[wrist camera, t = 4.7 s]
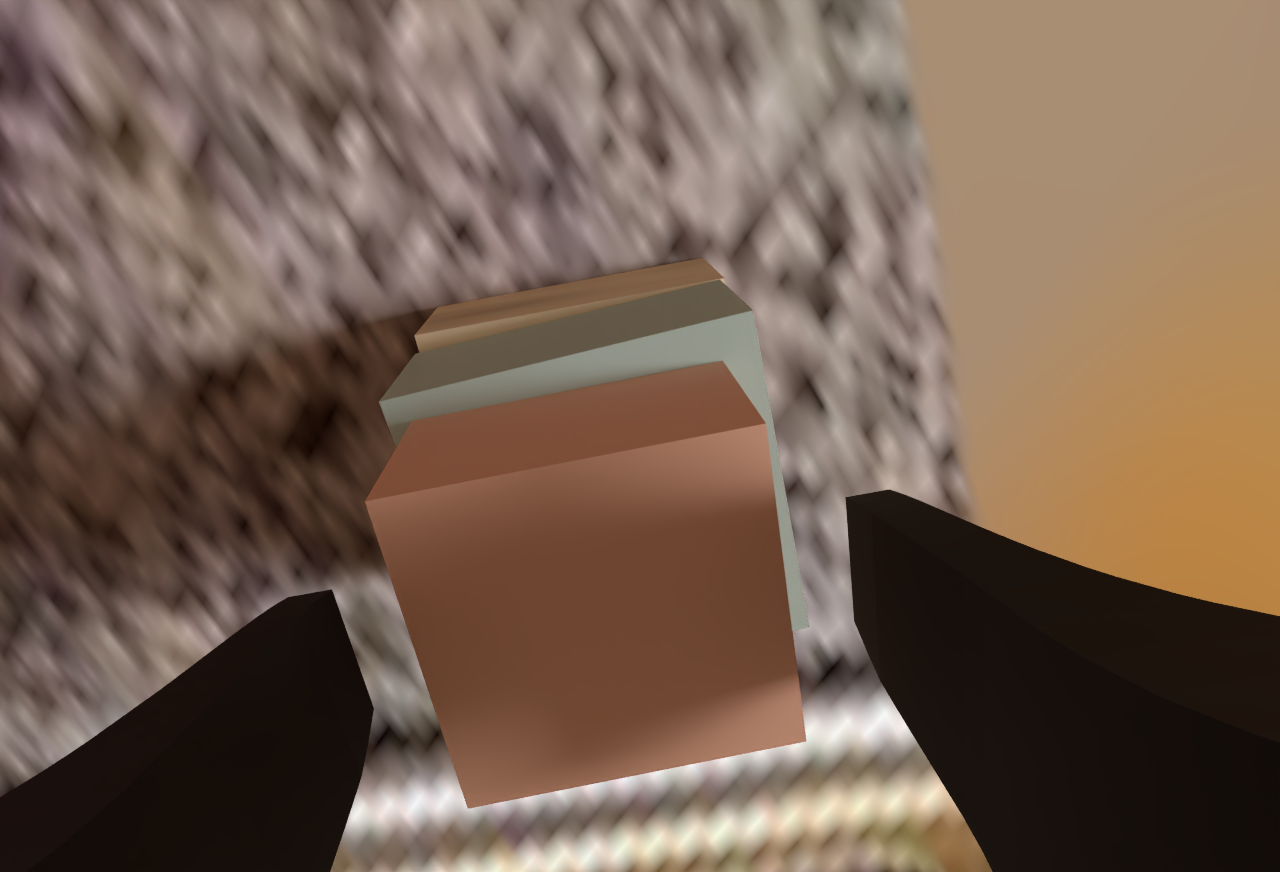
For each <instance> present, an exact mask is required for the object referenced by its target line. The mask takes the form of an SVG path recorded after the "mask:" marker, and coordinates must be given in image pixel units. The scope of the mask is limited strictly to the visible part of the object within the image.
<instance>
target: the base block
mask: <svg viewBox="0 0 1280 872" xmlns="http://www.w3.org/2000/svg"><path fill="white" fill-rule="evenodd" d="M719 279H720V280H721V281H722V282H723V283H724V284H725V280H724V277H723V276H722V275H721V274H719V273H718V272H717V271H716V270H715V269H714V268H713V267H712V266H711V265H710V264H709V263H708V262H707V261H705V260H704V259H703V258H699V259H693V260H688V261H683V262H677V263H672V264H667V265H661V266H656V267H650V268H645V269H640V270H634V271H629V272H623V273H618V274H613V275H607V276H602V277H596V278H591V279H586V280H580V281H575V282H569V283H564V284H559V285H553V286H548V287H542V288H537V289H532V290H526V291H521V292H516V293H510V294H505V295H499V296H494V297H489V298H483V299H478V300H472V301H467V302H462V303H456V304H451V305H445V306H440V307H437V308H436V310H435V311H434V312H433V313H432V315H431V316H430V317H429V318H428V319H427V321H426V322H425V323H424V324H423V326H422V327H421V328H420V329H419V330H418V332H417V333H416V334H415V335H414V336H415V339H416V343H417V346H418V350H419V353H420V352H424V351H428V350H432V349H437V348H441V347H445V346H449V345H453V344H457V343H461V342H465V341H469V340H473V339H478V338H482V337H486V336H490V335H494V334H498V333H502V332H506V331H510V330H514V329H518V328H523V327H527V326H531V325H535V324H539V323H543V322H547V321H551V320H555V319H559V318H564V317H568V316H572V315H576V314H580V313H584V312H588V311H592V310H596V309H600V308H605V307H609V306H613V305H617V304H621V303H625V302H629V301H633V300H637V299H641V298H645V297H650V296H654V295H658V294H662V293H666V292H670V291H674V290H678V289H682V288H686V287H691V286H695V285H699V284H703V283H707V282H711V281H715V280H719Z"/></svg>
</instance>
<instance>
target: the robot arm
mask: <svg viewBox="0 0 1280 872" xmlns="http://www.w3.org/2000/svg"><path fill="white" fill-rule="evenodd" d="M846 509H847V523H848V538H849V552H850V567H851V581H852V595H853V610H854V622H855V624H856V626H857V629H858V631H859V633H860V636H861V638H862V640H863V643H864V645H865V648H866V650H867V652H868V655H869V657H870V659H871V661H872V663H873V666H874V668H875V670H876V672H877V674H878V677H879V679H880V681H881V683H882V684H883V686H884V688H885V690H886V691H887V693H888V695H889V696H890V698H891V700H892V701H893V703H894V705H895V706H896V708H897V710H898V711H899V713H900V715H901V716H902V718H903V720H904V721H905V723H906V725H907V726H908V728H909V729H910V731H911V733H912V734H913V736H914V738H915V739H916V741H917V742H918V744H919V746H920V747H921V749H922V751H923V752H924V754H925V755H926V757H927V759H928V760H929V762H930V764H931V765H932V767H933V768H934V770H935V772H936V773H937V775H938V777H939V778H940V780H941V781H942V783H943V785H944V786H945V788H946V790H947V791H948V793H949V795H950V796H951V798H952V799H953V801H954V803H955V804H956V806H957V808H958V809H959V811H960V812H961V814H962V816H963V817H964V819H965V821H966V823H967V824H968V826H969V828H970V830H971V831H972V833H973V835H974V837H975V839H976V840H977V842H978V844H979V846H980V848H981V849H982V851H983V853H984V855H985V857H986V859H987V861H988V863H989V865H990V867H991V869H992V871H993V872H1280V616H1276V615H1271V614H1266V613H1261V612H1257V611H1252V610H1247V609H1242V608H1237V607H1233V606H1228V605H1223V604H1218V603H1213V602H1209V601H1205V600H1201V599H1196V598H1192V597H1188V596H1184V595H1180V594H1176V593H1172V592H1169V591H1165V590H1162V589H1157V588H1154V587H1151V586H1147V585H1144V584H1140V583H1137V582H1132V581H1129V580H1126V579H1122V578H1118V577H1115V576H1112V575H1109V574H1106V573H1102V572H1099V571H1096V570H1093V569H1090V568H1087V567H1084V566H1081V565H1078V564H1076V563H1073V562H1070V561H1067V560H1064V559H1061V558H1059V557H1056V556H1053V555H1050V554H1047V553H1045V552H1042V551H1039V550H1037V549H1034V548H1031V547H1029V546H1026V545H1024V544H1021V543H1019V542H1016V541H1013V540H1011V539H1009V538H1006V537H1004V536H1001V535H999V534H996V533H994V532H991V531H989V530H987V529H984V528H982V527H979V526H977V525H975V524H972V523H970V522H968V521H965V520H963V519H961V518H958V517H956V516H954V515H952V514H949V513H947V512H945V511H942V510H940V509H938V508H935V507H933V506H931V505H928V504H926V503H924V502H921V501H919V500H916V499H914V498H912V497H909V496H907V495H904V494H901V493H898V492H895V491H892V490H884V491H879V492H873V493H867V494H862V495H856V496H851V497H846ZM373 710H374V708H373V705H372V702H371V699H370V696H369V693H368V690H367V688H366V685H365V682H364V679H363V676H362V673H361V671H360V668H359V665H358V662H357V659H356V656H355V654H354V651H353V648H352V645H351V642H350V639H349V637H348V634H347V631H346V628H345V625H344V622H343V619H342V617H341V614H340V611H339V608H338V605H337V602H336V600H335V597H334V594H333V591H332V590H326V591H321V592H315V593H309V594H304V595H298V596H293V597H288V598H286V599H284V600H283V601H281V602H279V603H277V604H276V605H274V606H273V607H271V608H270V609H268V610H267V611H265V612H264V613H262V614H261V615H259V616H258V617H257V618H255V619H254V620H252V621H251V622H250V623H248V624H247V625H245V626H244V627H243V628H241V629H240V630H239V631H237V632H236V633H235V634H233V635H232V636H231V637H229V638H228V639H227V640H225V641H224V642H223V643H222V644H220V645H219V646H218V647H216V648H215V649H214V650H212V651H211V652H210V653H208V654H207V655H206V656H204V657H203V658H202V659H200V660H199V661H198V662H196V663H195V664H194V665H192V666H191V667H190V668H189V669H187V670H186V671H185V672H183V673H182V674H181V675H179V676H178V677H177V678H175V679H174V680H173V681H171V682H170V683H169V684H167V685H166V686H165V687H163V688H162V689H161V690H159V691H158V692H156V693H155V694H154V695H152V696H151V697H149V698H148V699H147V700H145V701H144V702H142V703H141V704H140V705H138V706H137V707H135V708H134V709H133V710H131V711H130V712H128V713H127V714H126V715H124V716H123V717H121V718H120V719H119V720H117V721H116V722H114V723H113V724H112V725H110V726H109V727H107V728H106V729H105V730H103V731H102V732H100V733H99V734H98V735H96V736H95V737H93V738H92V739H91V740H89V741H88V742H86V743H85V744H83V745H82V746H80V747H79V748H77V749H76V750H74V751H73V752H71V753H70V754H68V755H67V756H65V757H64V758H62V759H61V760H59V761H58V762H56V763H55V764H53V765H52V766H50V767H48V768H47V769H45V770H44V771H42V772H41V773H39V774H38V775H36V776H34V777H33V778H31V779H29V780H28V781H26V782H25V783H23V784H21V785H20V786H18V787H16V788H15V789H13V790H12V791H10V792H8V793H7V794H5V795H3V796H2V797H0V872H330V870H331V867H332V865H333V862H334V859H335V856H336V853H337V850H338V847H339V844H340V841H341V838H342V835H343V832H344V829H345V826H346V823H347V820H348V817H349V814H350V811H351V808H352V805H353V802H354V798H355V795H356V792H357V789H358V786H359V783H360V779H361V776H362V771H363V766H364V761H365V756H366V751H367V747H368V741H369V735H370V729H371V723H372V717H373Z"/></svg>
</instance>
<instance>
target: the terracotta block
mask: <svg viewBox="0 0 1280 872" xmlns="http://www.w3.org/2000/svg"><path fill="white" fill-rule="evenodd" d="M365 504H366V507H367V510H368V513H369V516H370V519H371V522H372V525H373V527H374V530H375V533H376V536H377V539H378V542H379V545H380V548H381V551H382V554H383V557H384V560H385V563H386V566H387V569H388V572H389V575H390V578H391V581H392V584H393V587H394V590H395V593H396V596H397V599H398V602H399V605H400V608H401V611H402V614H403V617H404V620H405V623H406V626H407V629H408V632H409V635H410V638H411V641H412V644H413V647H414V650H415V652H416V655H417V658H418V661H419V664H420V667H421V670H422V673H423V676H424V679H425V682H426V685H427V688H428V691H429V694H430V697H431V700H432V703H433V706H434V709H435V712H436V715H437V718H438V721H439V724H440V727H441V730H442V733H443V736H444V739H445V742H446V745H447V748H448V751H449V754H450V757H451V760H452V763H453V766H454V769H455V772H456V775H457V777H458V780H459V783H460V786H461V789H462V792H463V795H464V798H465V801H466V804H467V807H468V808H473V807H478V806H483V805H488V804H493V803H498V802H503V801H508V800H513V799H519V798H524V797H529V796H534V795H539V794H544V793H549V792H554V791H559V790H564V789H569V788H574V787H579V786H584V785H589V784H594V783H599V782H604V781H609V780H614V779H619V778H624V777H629V776H634V775H639V774H644V773H649V772H654V771H659V770H664V769H669V768H674V767H679V766H684V765H689V764H695V763H700V762H705V761H710V760H715V759H720V758H725V757H730V756H735V755H740V754H745V753H750V752H755V751H760V750H765V749H770V748H775V747H780V746H785V745H790V744H795V743H800V742H805V741H806V735H805V727H804V719H803V711H802V703H801V695H800V687H799V679H798V672H797V664H796V656H795V648H794V640H793V632H792V624H791V616H790V608H789V600H788V593H787V585H786V577H785V569H784V561H783V553H782V545H781V537H780V529H779V521H778V514H777V506H776V498H775V490H774V482H773V474H772V466H771V458H770V450H769V442H768V435H767V427H766V423H765V421H764V420H763V418H762V417H761V415H760V414H759V412H758V411H757V410H756V408H755V407H754V405H753V404H752V402H751V401H750V399H749V398H748V396H747V395H746V394H745V392H744V391H743V389H742V388H741V386H740V385H739V383H738V382H737V380H736V379H735V378H734V376H733V375H732V373H731V372H730V370H729V369H728V367H727V366H726V364H725V363H724V362H723V361H719V362H714V363H709V364H703V365H698V366H693V367H688V368H683V369H677V370H672V371H667V372H662V373H657V374H652V375H646V376H641V377H636V378H631V379H626V380H620V381H615V382H610V383H605V384H600V385H595V386H589V387H584V388H579V389H574V390H569V391H564V392H558V393H553V394H548V395H543V396H538V397H532V398H527V399H522V400H517V401H512V402H507V403H501V404H496V405H491V406H486V407H481V408H475V409H470V410H465V411H460V412H455V413H450V414H444V415H439V416H434V417H429V418H424V419H419V420H413V421H412V422H411V424H410V425H409V427H408V429H407V431H406V432H405V434H404V436H403V437H402V439H401V441H400V442H399V444H398V446H397V447H396V449H395V451H394V453H393V454H392V456H391V458H390V459H389V461H388V463H387V464H386V466H385V468H384V470H383V471H382V473H381V475H380V476H379V478H378V480H377V481H376V483H375V485H374V487H373V488H372V490H371V492H370V493H369V495H368V497H367V498H366V500H365Z"/></svg>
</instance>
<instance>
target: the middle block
mask: <svg viewBox="0 0 1280 872" xmlns="http://www.w3.org/2000/svg"><path fill="white" fill-rule="evenodd" d="M719 361H723V362H724V363H725V364H726V366H727V367H728V369H729V370H730V372H731V373H732V375H733V376H734V378H735V379H736V380H737V382H738V383H739V385H740V386H741V388H742V389H743V391H744V392H745V394H746V395H747V396H748V398H749V399H750V401H751V402H752V404H753V405H754V407H755V408H756V410H757V411H758V412H759V414H760V415H761V417H762V418H763V420H764V421H765V423H766V427H767V435H768V442H769V450H770V458H771V466H772V474H773V482H774V490H775V498H776V506H777V514H778V521H779V529H780V537H781V545H782V553H783V561H784V569H785V577H786V585H787V593H788V600H789V608H790V616H791V624H792V631H795V630H799V629H803V628H807V627H809V622H808V616H807V611H806V605H805V599H804V594H803V588H802V583H801V577H800V571H799V566H798V560H797V554H796V549H795V543H794V538H793V532H792V526H791V521H790V515H789V510H788V504H787V498H786V493H785V487H784V481H783V476H782V470H781V465H780V459H779V453H778V448H777V442H776V437H775V431H774V425H773V420H772V414H771V408H770V403H769V397H768V392H767V386H766V380H765V375H764V369H763V364H762V358H761V352H760V347H759V341H758V335H757V330H756V324H755V319H754V313H753V310H752V309H751V308H750V307H749V306H748V305H747V304H746V303H745V302H744V301H742V300H741V299H740V298H739V297H738V296H737V295H736V294H735V293H734V292H733V291H732V290H731V289H730V288H728V287H727V286H726V285H725V284H724V283H723V282H722V281H721V280H720V279H719V280H715V281H711V282H707V283H703V284H699V285H695V286H691V287H686V288H682V289H678V290H674V291H670V292H666V293H662V294H658V295H654V296H650V297H645V298H641V299H637V300H633V301H629V302H625V303H621V304H617V305H613V306H609V307H605V308H600V309H596V310H592V311H588V312H584V313H580V314H576V315H572V316H568V317H564V318H559V319H555V320H551V321H547V322H543V323H539V324H535V325H531V326H527V327H523V328H518V329H514V330H510V331H506V332H502V333H498V334H494V335H490V336H486V337H482V338H478V339H473V340H469V341H465V342H461V343H457V344H453V345H449V346H445V347H441V348H437V349H432V350H428V351H424V352H420V353H416V354H415V355H414V356H413V357H412V359H411V360H410V361H409V363H408V364H407V365H406V367H405V368H404V369H403V370H402V372H401V373H400V374H399V376H398V377H397V378H396V380H395V381H394V382H393V384H392V385H391V386H390V388H389V389H388V390H387V392H386V393H385V394H384V396H383V397H382V398H381V400H380V401H379V403H380V406H381V409H382V412H383V414H384V417H385V420H386V422H387V425H388V428H389V430H390V433H391V436H392V439H393V441H394V444H395V447H397V446H398V444H399V442H400V441H401V439H402V437H403V436H404V434H405V432H406V431H407V429H408V427H409V425H410V424H411V422H412V421H413V420H419V419H424V418H429V417H434V416H439V415H444V414H450V413H455V412H460V411H465V410H470V409H475V408H481V407H486V406H491V405H496V404H501V403H507V402H512V401H517V400H522V399H527V398H532V397H538V396H543V395H548V394H553V393H558V392H564V391H569V390H574V389H579V388H584V387H589V386H595V385H600V384H605V383H610V382H615V381H620V380H626V379H631V378H636V377H641V376H646V375H652V374H657V373H662V372H667V371H672V370H677V369H683V368H688V367H693V366H698V365H703V364H709V363H714V362H719Z"/></svg>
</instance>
